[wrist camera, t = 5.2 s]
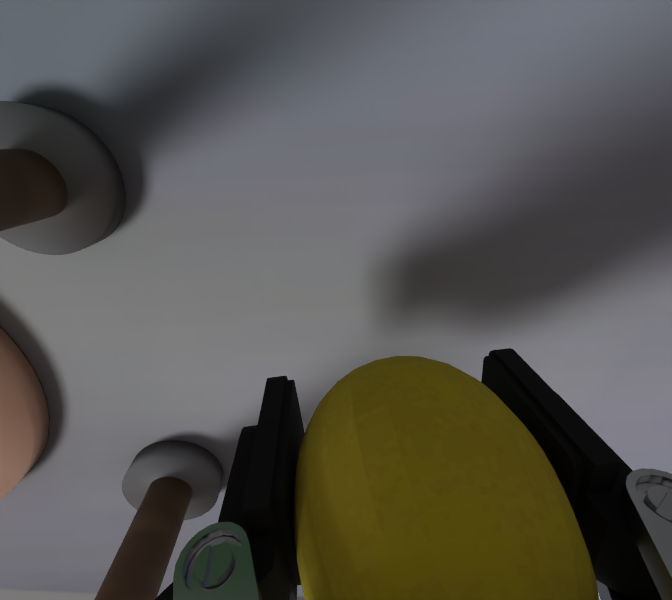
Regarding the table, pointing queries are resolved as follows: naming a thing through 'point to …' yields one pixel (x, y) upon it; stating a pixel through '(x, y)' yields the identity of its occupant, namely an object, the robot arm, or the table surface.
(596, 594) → the lemon
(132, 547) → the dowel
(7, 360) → the plate
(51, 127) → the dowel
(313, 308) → the table surface
